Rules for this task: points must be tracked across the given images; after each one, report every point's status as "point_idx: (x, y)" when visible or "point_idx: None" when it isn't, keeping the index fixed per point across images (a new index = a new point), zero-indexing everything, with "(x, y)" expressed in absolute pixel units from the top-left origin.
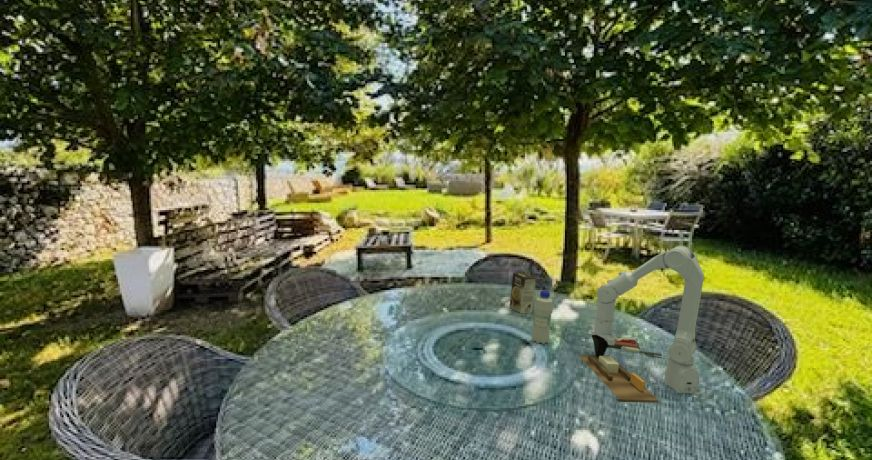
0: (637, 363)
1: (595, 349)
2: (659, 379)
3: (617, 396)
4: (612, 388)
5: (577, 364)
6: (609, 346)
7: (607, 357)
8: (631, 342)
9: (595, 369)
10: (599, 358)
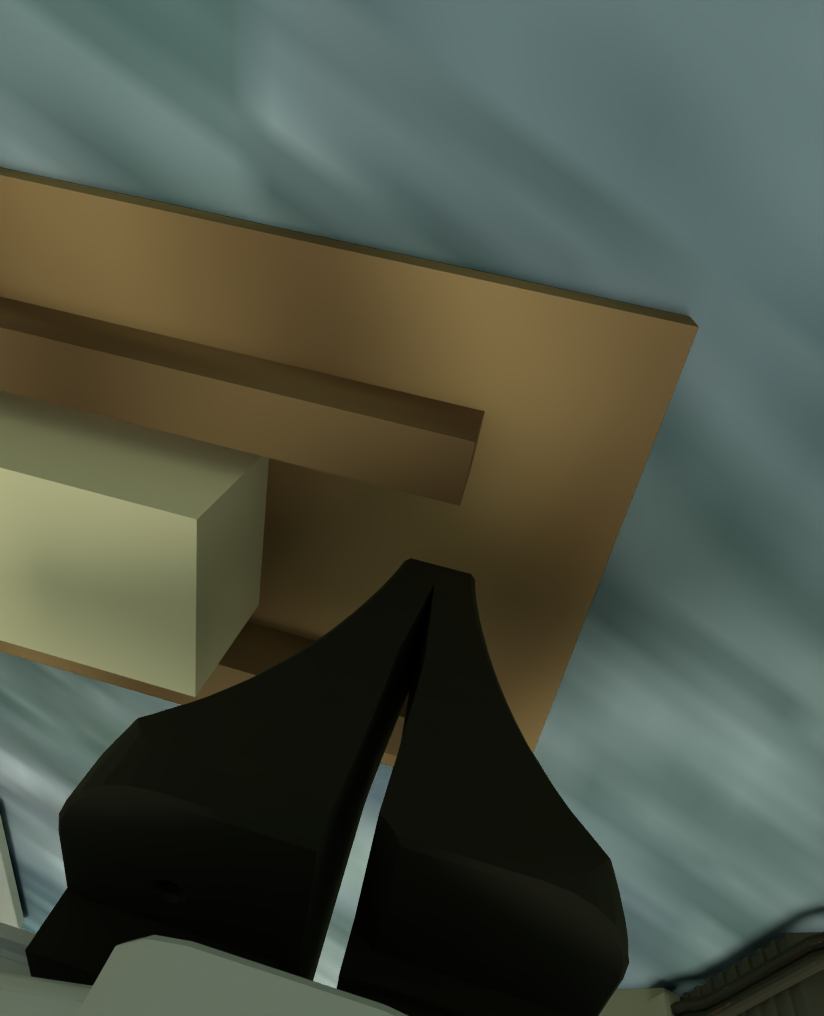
0: (351, 904)
1: (441, 631)
2: (29, 822)
3: None
4: None
5: (393, 83)
6: (782, 976)
7: (140, 617)
8: None
9: (78, 271)
10: (189, 492)
